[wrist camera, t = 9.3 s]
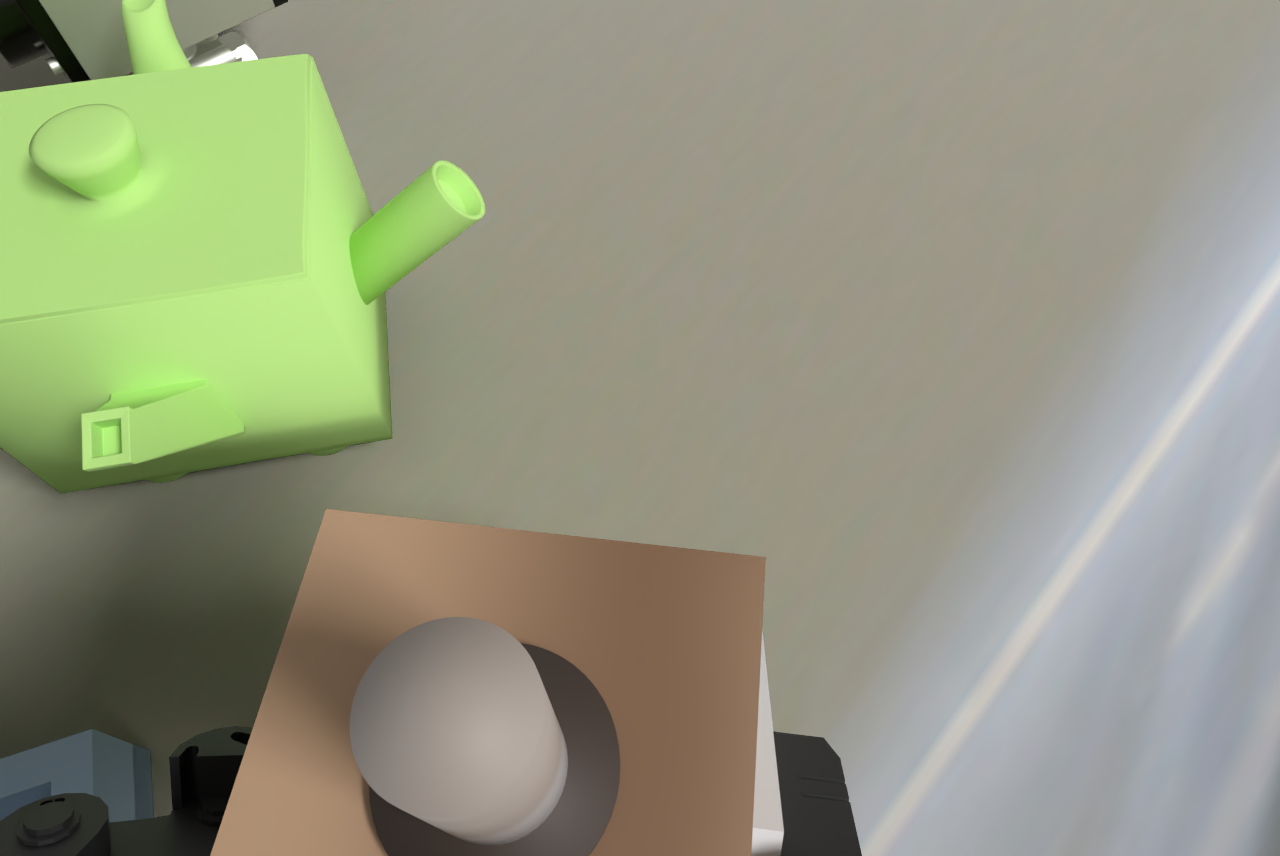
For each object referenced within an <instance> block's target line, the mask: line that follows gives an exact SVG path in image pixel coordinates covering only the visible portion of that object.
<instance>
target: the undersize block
mask: <svg viewBox="0 0 1280 856" xmlns="http://www.w3.org/2000/svg"><path fill="white" fill-rule="evenodd" d="M765 560H766V557H759V556H750V555H741V554H732V553H723V552H714V551H705V550H696V549H687V548H678V547H669V546H659V545H650V544H641V543H632V542H623V541H614V540H605V539H596V538H587V537H578V536H569V535H559V534H550V533H541V532H532V531H523V530H514V529H505V528H496V527H487V526H478V525H469V524H460V523H450V522H441V521H432V520H423V519H414V518H405V517H396V516H387V515H378V514H369V513H360V512H350V511H341V510H332V509H326V511H325V514H324V517H323V520H322V523H321V526H320V529H319V531H318V534H317V537H316V540H315V543H314V546H313V549H312V552H311V555H310V558H309V561H308V564H307V567H306V570H305V573H304V576H303V579H302V582H301V585H300V588H299V591H298V594H297V597H296V600H295V603H294V606H293V609H292V612H291V615H290V618H289V621H288V624H287V627H286V630H285V633H284V636H283V639H282V642H281V645H280V648H279V651H278V654H277V657H276V660H275V663H274V666H273V669H272V672H271V675H270V678H269V681H268V684H267V687H266V690H265V693H264V696H263V699H262V702H261V705H260V708H259V711H258V714H257V717H256V720H255V723H254V726H253V729H252V732H251V735H250V738H249V741H248V744H247V747H246V750H245V753H244V756H243V759H242V762H241V765H240V768H239V771H238V774H237V777H236V780H235V783H234V786H233V789H232V792H231V795H230V798H229V801H228V804H227V807H226V810H225V813H224V816H223V819H222V822H221V825H220V828H219V831H218V834H217V837H216V840H215V843H214V846H213V849H212V852H211V855H210V856H751V853H752V832H753V811H754V790H755V769H756V748H757V727H758V706H759V685H760V665H761V644H762V623H763V602H764V581H765Z"/></svg>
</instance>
